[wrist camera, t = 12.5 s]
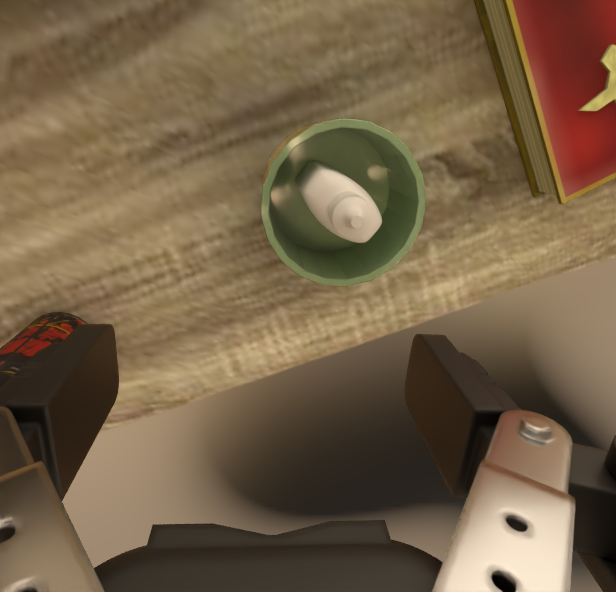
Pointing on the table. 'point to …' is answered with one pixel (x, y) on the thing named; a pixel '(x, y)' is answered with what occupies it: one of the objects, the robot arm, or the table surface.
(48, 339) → the deodorant
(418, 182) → the pen cup
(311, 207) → the eye dropper bottle
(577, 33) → the hardcover book
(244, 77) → the table surface
